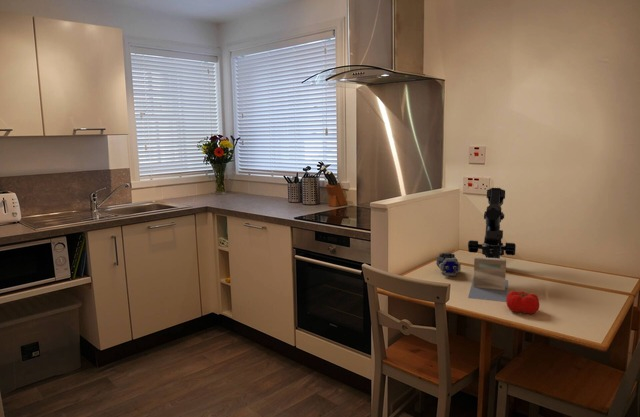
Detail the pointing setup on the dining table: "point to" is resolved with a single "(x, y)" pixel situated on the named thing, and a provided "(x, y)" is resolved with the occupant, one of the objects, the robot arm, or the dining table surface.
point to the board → (489, 273)
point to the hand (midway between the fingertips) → (490, 264)
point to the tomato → (522, 302)
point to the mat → (488, 293)
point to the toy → (448, 264)
